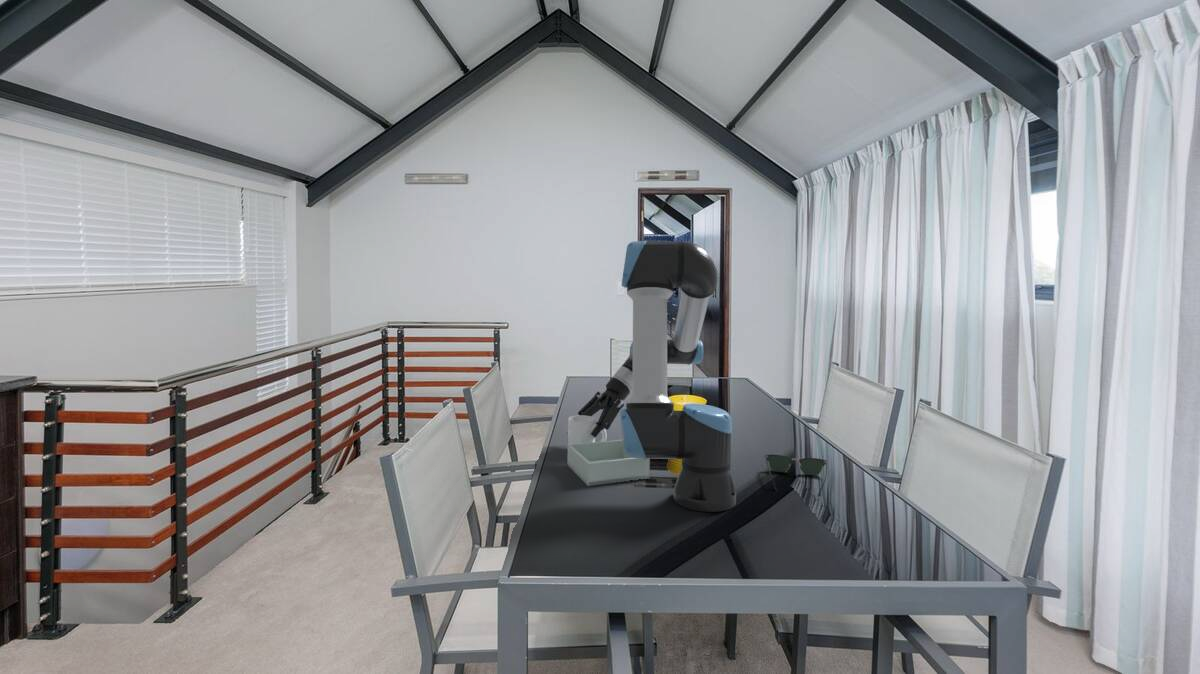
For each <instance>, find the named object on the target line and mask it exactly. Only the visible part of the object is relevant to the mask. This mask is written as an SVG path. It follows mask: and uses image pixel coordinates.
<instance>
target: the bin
mask: <svg viewBox="0 0 1200 674" xmlns="http://www.w3.org/2000/svg"><path fill="white" fill-rule="evenodd" d="M566 463H567V466H568V468H570V469H571V470H572V471H573V473H575V474H576V475H577V476H578V477H579V478H580V479H581V480H582V481H583V483H585V485H586V486H588V487H591V486H600V485H607V484H616V482H617V483H622V482H624V481H625V482H631V481H630V480H633V481H640V480H639V479H641V480H647V479H650V468H651V467H650V464H651V459H643V458H631V457H629V456H628V455H627V454H626V452H625V448H624V442H623V438H622V439H615V440H606V441H602V442H600V441H595V442H591V443H581V444H571V445H568V444H567V462H566Z"/></svg>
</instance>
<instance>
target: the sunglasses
mask: <svg viewBox="0 0 1200 674" xmlns="http://www.w3.org/2000/svg"><path fill="white" fill-rule="evenodd" d="M764 458H765V461H766V465H767V469H768V472H769V475H770V478H771V481H772V483H773V486H774V490H775V491H776V492H778V490H777V489H778V488H777V486H776V484H775V482H774V479H773V476H772V473H771V471H773V472H778V473H787V472H788V471H789V470H790V469H791V463H792V461H798V462H799V464H800V466H799V469H800V471H801V472H802V474H804V475H805V476H808V475H809V476H818V475H820V474H821V472H822V470H823V467H825V475H824V480H823V483H822V486H821V488H820V490H819V493H818V494H817V497H819V496H820V494H821V492H822V490H823V487H824V485H825V483H826V479H827V474H828V473H827V472H828V461H827V460H826V459H824V458H823V459H821V458H818V457H817V458H815V457H803V458H800V459H799V458H791V457H789V456H786V455H781V454H765V455H764ZM770 469H771V470H770Z"/></svg>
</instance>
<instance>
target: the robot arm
mask: <svg viewBox="0 0 1200 674" xmlns="http://www.w3.org/2000/svg"><path fill="white" fill-rule="evenodd" d="M621 278H622V279H621V287H622V288H624V289H625V288H626V295H627V296H628V297H629V298H630V299H631V300H632V342H631V344H630V346H629V355H628V357H627V359H626V360H625V361H624V363H623V364H622V365H621V366H620V367H619V368H618V369H617V371H616V372H615V373H614V374H613V377H611V378H610V380H609V381H608V382H607V383H606V385H605V388H606V390H605V391H603V392H602V393H601V392H600V391H597V392H596V393H595V394H594V396H593V397H592V398H591V399H590V400H589V401H587V403H586V404H585V405H584V406H583V407H582V408H581V409H580V410H578V412H577V414H578V416H579V415H584V416H591V417H593V416H594V415H595V414H597V412H599V411H600V410H602V411H601V413H600V416H599V418H598V420H597V421H595V423H596V424H597V425H596V424H594V425H593V427H592V428H591V429H590V430H589V432H588V433H587V434H586V435H585V437H584V438H583V439H582V440H581V441H582V442H583V443H591V442H592V441H593V439H594V438H595V439H596V437H597V436H598V435H599V434H600V433H601V432H602V431H601V430H603V429H605V430H606V431H607V430H609V429H610V427H611V425H612V424H613V422H614V420H615V419H616V417H617V416H618V414H619V413H620V424H621V425H620V426H621V433H622V439H623V442H624V448H625V452H626V454H627V455H628V456H629V457H631V458H643V459H650V460H654V459H655V460H658V459H660V460H662V459H663V460H681V468H680V471H679V473H678V476H677V479H676V482H675V485H674V487H673V500H674V502H675V503H676V504H677V505H678V506H681V507H683V508H686V509H688V510H692V511H698V512H706V513H713V512H714V513H716V512H724V511H728V510H730V509H732V508H734V507H735V506H736V505H737V504H736V503H737V492H736V487H735V485H734V482H733V477H732V474H731V450H732V449H731V447H732V446H731V445H732V434H733V429H732V417H731V415H730V413H729V412H727V411H726V410H724V409H722V408H719V407H718V406H715V405H710V404H709V405H708V404H703V403H697V402H696V403H695V402H692V403H685V404H684V405H683V406H682V408H681V409H682V410H674V409H675V407H674V406H675V404H674V401H672V399H671V398H670V397H669V396H668V365H670V364H671V365H686V366H687V365H688V366H689V365H699V364H701V363H702V361H703V359H704V358H703V357H704V344H703V342H702V340H701V339H700V337H701V333H702V328H703V325H704V321H705V318H706V313H707V309H708V306H709V301H710V297H711V296H713V294H714V293H715V291H716V288H717V284H718V270H717V267H716V264H715V262H714V260H713V259H712V257H711V255H710V254H709V253H708V252H707V251H706V250H705V249H704V248H703V247H702V246H700V245H698V244H696V243H694V242H691V241H687V240H686V241H685V240H683V241H669V240H668V241H667V240H647V239H646V240H639V241H630V242H629V243H628V244H627V246H626V251H625V258H624V264H623V271H622V277H621ZM674 288H675V289H676V288H677V289H679V288H680V292H681V295H680V299H679V305H678V311H677V316H676V323H675V326H674V327H675V328H674V333H673V337H672V338H673V339H669V338H668V301H669V299H670V298H671V297H672V296H673V295H674ZM631 391H632V393H631ZM630 393H631V394H632V395H631V397H630V398H629V399H628V400H627V401H626V403H624V402H623V401H625V399H627V397H628V396H629V395H630ZM624 406H625V407H626V408H623V407H624ZM567 435H568V431H567Z"/></svg>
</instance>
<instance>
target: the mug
mask: <svg viewBox="0 0 1200 674" xmlns="http://www.w3.org/2000/svg"><path fill="white" fill-rule="evenodd" d="M567 424H568V425H567V430H568V431H567V432H568V434H567V435H568V436H567V437H568V438H567V439H568V441H567V442H568V443H567V446H568V445H571V444H581V443H583V442H582V441H581V440H582V439H583V438H584V437H585V435H586V434H587V433H588V432H589V430H590V429H591V428H592V427H593V425H594V424H596V418H595V417H593V416H584V415H579V414H578V415H571V416H569V417H568V420H567ZM596 425H597V424H596ZM600 432H601V434H602V438H601V439H600V441H599V442H602V441H607V439H608V436H607V430H606V429H603V430H601V431H600ZM592 442H596V437H595V438H594V439H593V441H592Z"/></svg>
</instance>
